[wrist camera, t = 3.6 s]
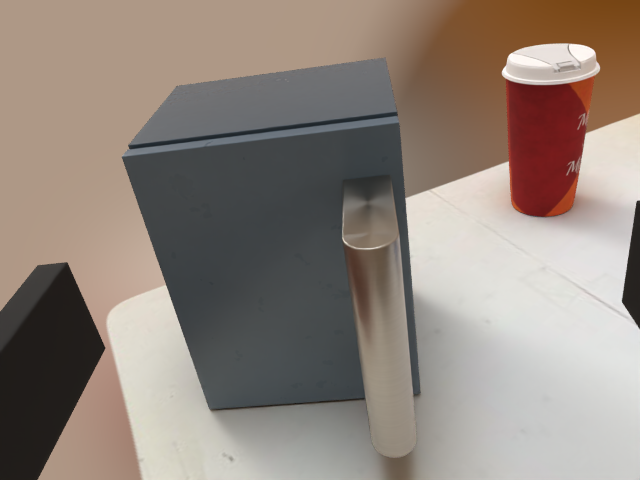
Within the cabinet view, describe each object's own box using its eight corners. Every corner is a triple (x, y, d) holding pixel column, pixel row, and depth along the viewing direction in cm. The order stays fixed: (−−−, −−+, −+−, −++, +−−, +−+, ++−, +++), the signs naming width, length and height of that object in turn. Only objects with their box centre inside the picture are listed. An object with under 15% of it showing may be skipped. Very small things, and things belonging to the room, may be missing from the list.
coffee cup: (601, 214, 56) (620, 57, 48) (516, 228, 56) (521, 73, 49) (564, 178, 63) (575, 36, 56) (488, 190, 63) (489, 50, 56)
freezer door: (434, 488, 34) (413, 185, 24) (185, 502, 36) (66, 224, 25) (419, 383, 41) (397, 115, 31) (211, 399, 43) (127, 149, 32)
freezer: (418, 382, 41) (397, 111, 31) (213, 398, 43) (127, 145, 33) (405, 289, 51) (385, 57, 40) (237, 305, 52) (176, 86, 42)
